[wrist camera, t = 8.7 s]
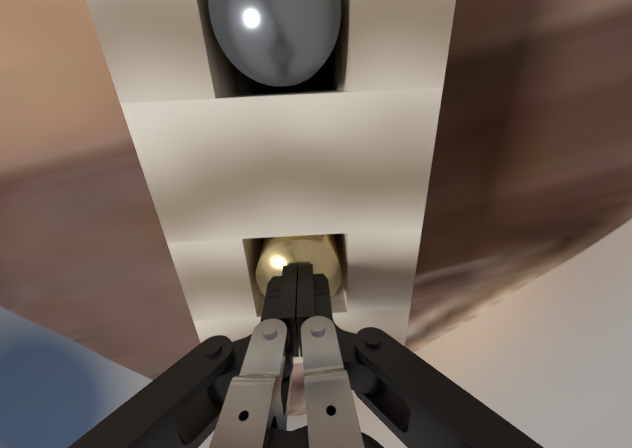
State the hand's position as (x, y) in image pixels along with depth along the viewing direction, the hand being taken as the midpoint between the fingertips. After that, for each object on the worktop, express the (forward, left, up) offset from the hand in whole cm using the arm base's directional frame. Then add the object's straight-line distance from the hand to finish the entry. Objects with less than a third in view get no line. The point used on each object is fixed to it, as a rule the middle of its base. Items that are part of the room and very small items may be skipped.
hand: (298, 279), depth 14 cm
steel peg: (-11, 0, -8) cm, 14 cm away
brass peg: (0, 0, -7) cm, 7 cm away
